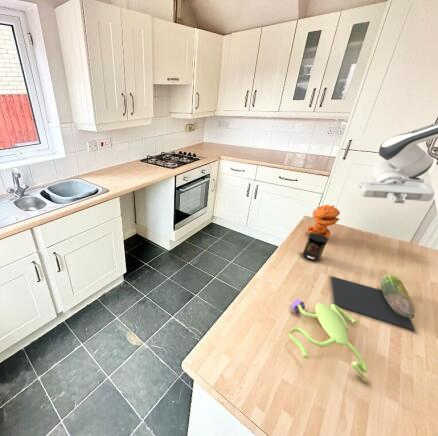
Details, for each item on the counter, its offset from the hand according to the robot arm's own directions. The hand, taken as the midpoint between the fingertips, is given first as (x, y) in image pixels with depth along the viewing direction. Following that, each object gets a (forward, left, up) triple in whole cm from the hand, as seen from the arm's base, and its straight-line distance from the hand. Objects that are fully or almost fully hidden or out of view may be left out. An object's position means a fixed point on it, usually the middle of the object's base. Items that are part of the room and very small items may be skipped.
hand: (399, 201), depth 89 cm
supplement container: (+21, +7, -29) cm, 36 cm away
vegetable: (-3, +14, -25) cm, 29 cm away
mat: (+4, +26, -28) cm, 39 cm away
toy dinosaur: (+18, -13, -29) cm, 36 cm away
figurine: (+18, +50, -29) cm, 61 cm away
